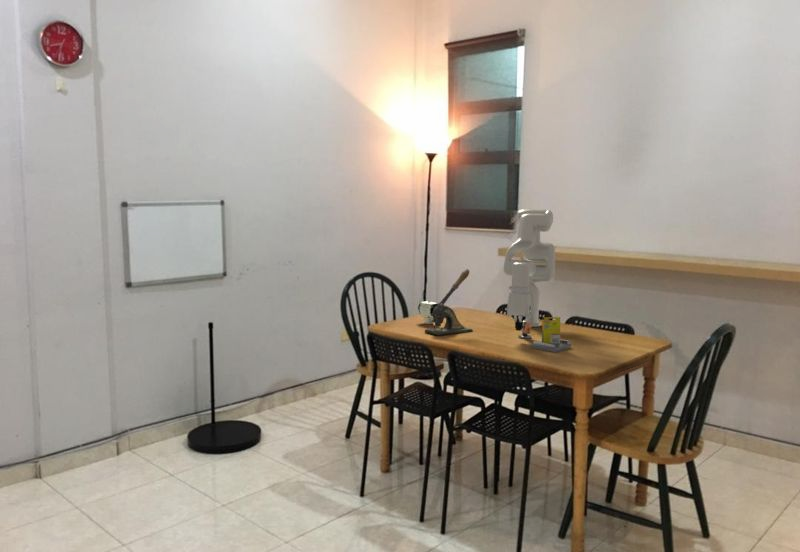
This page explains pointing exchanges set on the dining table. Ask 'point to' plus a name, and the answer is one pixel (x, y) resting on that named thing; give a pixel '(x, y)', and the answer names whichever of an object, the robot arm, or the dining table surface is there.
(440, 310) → the embossing press
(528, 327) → the press lever
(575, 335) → the dining table surface
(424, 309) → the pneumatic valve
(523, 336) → the lever post
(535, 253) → the robot arm
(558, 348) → the plate
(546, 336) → the crayon box
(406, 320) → the dining table surface
